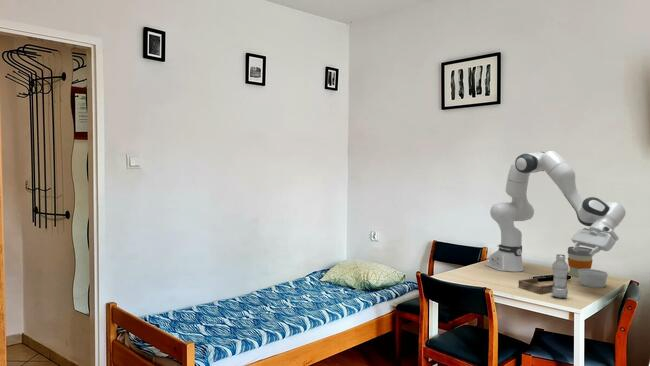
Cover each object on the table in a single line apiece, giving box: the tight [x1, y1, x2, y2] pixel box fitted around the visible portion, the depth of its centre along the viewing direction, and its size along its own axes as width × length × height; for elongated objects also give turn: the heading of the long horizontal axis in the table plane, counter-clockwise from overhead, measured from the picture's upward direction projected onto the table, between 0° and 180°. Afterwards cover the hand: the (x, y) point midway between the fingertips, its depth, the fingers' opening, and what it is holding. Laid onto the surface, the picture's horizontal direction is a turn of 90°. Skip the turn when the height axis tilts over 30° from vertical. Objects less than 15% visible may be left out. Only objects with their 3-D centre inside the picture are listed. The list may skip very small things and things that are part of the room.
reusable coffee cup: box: [567, 246, 594, 278], centre depth 256 cm, size 13×13×15 cm
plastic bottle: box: [551, 253, 569, 299], centre depth 216 cm, size 6×7×20 cm
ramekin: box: [578, 268, 609, 289], centre depth 238 cm, size 13×13×7 cm
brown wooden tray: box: [518, 277, 553, 295], centre depth 230 cm, size 13×13×4 cm
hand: (582, 252), depth 219 cm, fingers open, 8 cm apart
